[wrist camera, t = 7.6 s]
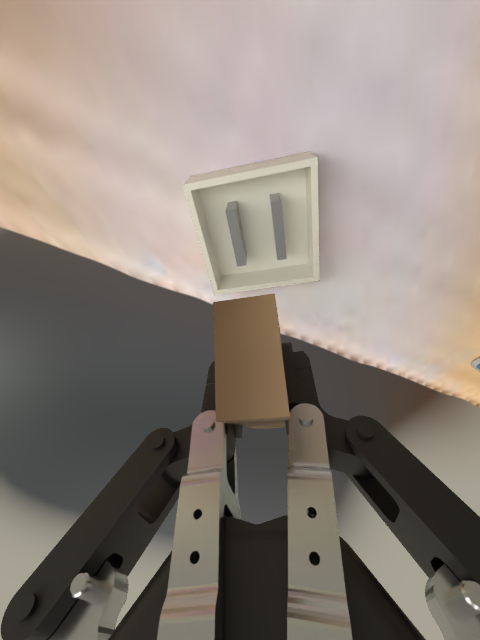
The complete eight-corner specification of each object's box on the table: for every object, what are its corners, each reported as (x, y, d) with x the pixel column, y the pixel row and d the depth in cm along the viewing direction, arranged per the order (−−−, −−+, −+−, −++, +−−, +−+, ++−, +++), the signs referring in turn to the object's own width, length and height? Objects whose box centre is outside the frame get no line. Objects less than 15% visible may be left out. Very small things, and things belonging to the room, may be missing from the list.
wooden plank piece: (284, 366, 21) (274, 293, 10) (292, 426, 19) (289, 416, 9) (254, 369, 22) (213, 302, 11) (259, 428, 20) (215, 421, 9)
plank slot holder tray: (310, 151, 26) (317, 157, 23) (313, 264, 33) (319, 280, 30) (190, 176, 28) (182, 184, 25) (218, 278, 35) (214, 295, 32)
